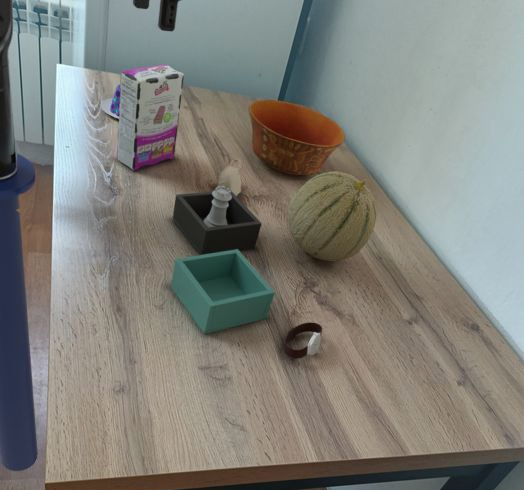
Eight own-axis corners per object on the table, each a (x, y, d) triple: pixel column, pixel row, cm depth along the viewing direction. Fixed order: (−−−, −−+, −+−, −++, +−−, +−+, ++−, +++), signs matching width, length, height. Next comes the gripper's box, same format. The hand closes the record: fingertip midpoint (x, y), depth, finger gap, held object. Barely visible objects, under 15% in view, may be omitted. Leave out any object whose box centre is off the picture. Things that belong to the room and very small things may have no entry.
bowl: (290, 138, 130) (302, 96, 123) (349, 183, 120) (365, 141, 113) (220, 144, 118) (229, 98, 111) (278, 195, 108) (292, 148, 101)
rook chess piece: (218, 223, 94) (227, 181, 89) (231, 237, 92) (241, 196, 87) (196, 226, 92) (204, 183, 86) (209, 241, 90) (218, 198, 84)
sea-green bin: (204, 334, 74) (210, 306, 71) (170, 286, 80) (175, 258, 76) (266, 318, 80) (275, 292, 77) (231, 275, 85) (237, 248, 82)
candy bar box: (156, 148, 110) (166, 63, 98) (174, 159, 108) (186, 74, 97) (114, 159, 102) (119, 69, 91) (133, 171, 101) (140, 81, 89)
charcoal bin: (200, 257, 87) (206, 230, 83) (172, 220, 92) (175, 194, 89) (254, 248, 92) (262, 223, 89) (224, 214, 98) (230, 189, 94)
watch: (301, 369, 74) (309, 350, 72) (273, 351, 75) (280, 332, 73) (326, 342, 80) (334, 324, 77) (299, 325, 81) (306, 307, 78)
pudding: (138, 99, 124) (140, 76, 121) (166, 123, 119) (169, 99, 115) (90, 101, 117) (90, 76, 114) (117, 127, 112) (119, 102, 108)
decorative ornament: (209, 197, 101) (214, 170, 97) (226, 180, 107) (232, 155, 103) (229, 205, 101) (235, 179, 97) (245, 188, 107) (251, 163, 103)
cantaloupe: (269, 227, 99) (291, 149, 88) (338, 230, 104) (367, 157, 94) (296, 278, 89) (324, 198, 79) (371, 278, 95) (407, 203, 85)
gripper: (114, -150, 67) (108, -2, 78) (164, -124, 60) (149, 36, 71) (169, -135, 71) (156, 4, 82) (222, -109, 64) (199, 40, 75)
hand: (153, 18), depth 76 cm, fingers open, 8 cm apart
